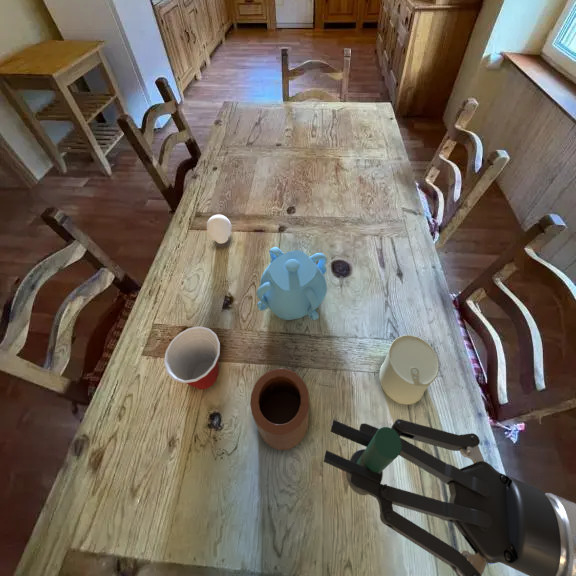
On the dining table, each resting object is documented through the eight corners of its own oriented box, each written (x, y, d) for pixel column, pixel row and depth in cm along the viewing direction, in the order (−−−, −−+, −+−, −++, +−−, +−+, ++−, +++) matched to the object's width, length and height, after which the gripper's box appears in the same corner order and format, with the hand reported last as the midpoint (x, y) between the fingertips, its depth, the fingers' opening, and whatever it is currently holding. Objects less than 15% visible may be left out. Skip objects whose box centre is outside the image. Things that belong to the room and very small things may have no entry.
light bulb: (227, 230, 103) (221, 205, 95) (239, 244, 99) (233, 219, 91) (207, 241, 100) (199, 216, 92) (218, 256, 96) (210, 231, 88)
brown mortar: (298, 459, 63) (297, 445, 54) (249, 437, 65) (240, 420, 56) (314, 401, 69) (316, 380, 60) (269, 383, 72) (264, 360, 63)
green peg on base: (374, 501, 47) (408, 479, 32) (342, 486, 48) (361, 458, 33) (379, 463, 50) (413, 426, 35) (349, 450, 51) (370, 409, 36)
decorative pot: (315, 335, 79) (317, 307, 70) (251, 315, 83) (245, 285, 74) (331, 277, 90) (335, 245, 81) (274, 261, 94) (272, 230, 85)
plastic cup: (213, 338, 79) (202, 314, 71) (239, 376, 73) (230, 354, 65) (170, 371, 74) (153, 349, 66) (194, 415, 68) (179, 396, 60)
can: (380, 401, 69) (390, 381, 61) (378, 354, 75) (387, 330, 67) (427, 408, 68) (444, 388, 59) (421, 359, 74) (435, 336, 66)
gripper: (538, 642, 33) (308, 524, 39) (521, 454, 44) (341, 385, 50) (582, 660, 28) (309, 521, 34) (551, 441, 38) (346, 366, 45)
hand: (328, 440), depth 42 cm, fingers closed on green peg on base, 3 cm apart
